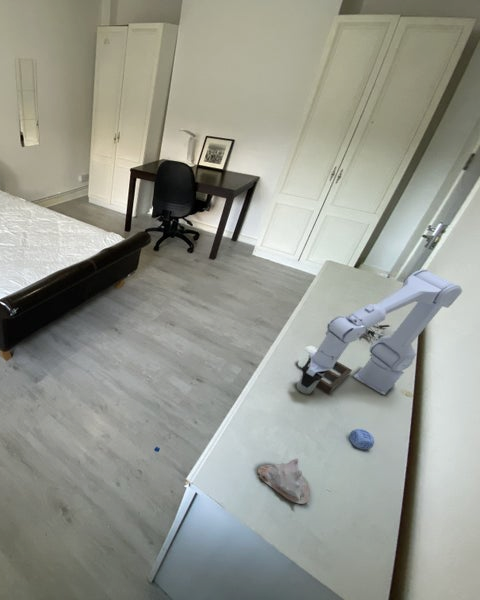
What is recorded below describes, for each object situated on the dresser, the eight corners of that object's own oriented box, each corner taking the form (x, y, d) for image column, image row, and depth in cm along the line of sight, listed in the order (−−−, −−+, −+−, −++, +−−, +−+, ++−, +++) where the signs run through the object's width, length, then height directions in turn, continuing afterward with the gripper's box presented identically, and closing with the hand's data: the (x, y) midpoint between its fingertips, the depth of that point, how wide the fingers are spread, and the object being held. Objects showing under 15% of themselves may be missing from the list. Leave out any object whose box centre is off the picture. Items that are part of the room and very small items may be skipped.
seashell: (311, 515, 78) (330, 497, 73) (258, 493, 82) (272, 475, 77) (305, 476, 86) (322, 457, 81) (257, 458, 90) (269, 439, 84)
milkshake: (313, 372, 118) (326, 352, 112) (297, 369, 118) (310, 349, 113) (309, 363, 121) (321, 343, 116) (293, 360, 122) (305, 341, 116)
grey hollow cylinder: (311, 396, 108) (325, 375, 102) (295, 390, 110) (309, 369, 104) (311, 387, 112) (325, 366, 106) (296, 381, 113) (309, 361, 108)
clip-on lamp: (359, 326, 146) (357, 337, 133) (365, 313, 144) (363, 323, 131) (393, 336, 139) (394, 349, 126) (400, 323, 137) (402, 335, 124)
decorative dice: (353, 447, 94) (360, 439, 91) (347, 435, 97) (354, 427, 95) (368, 451, 93) (376, 443, 91) (362, 438, 96) (370, 430, 94)
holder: (348, 375, 117) (352, 370, 115) (328, 393, 110) (332, 388, 108) (323, 361, 123) (327, 355, 121) (303, 377, 115) (306, 372, 114)
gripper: (326, 336, 107) (308, 364, 114) (305, 352, 100) (287, 381, 107) (350, 348, 102) (329, 377, 110) (329, 366, 95) (308, 396, 103)
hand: (310, 380), depth 108 cm, fingers open, 7 cm apart
